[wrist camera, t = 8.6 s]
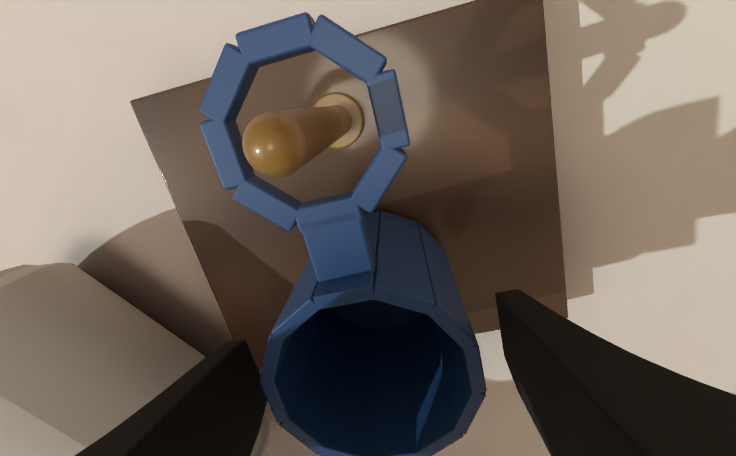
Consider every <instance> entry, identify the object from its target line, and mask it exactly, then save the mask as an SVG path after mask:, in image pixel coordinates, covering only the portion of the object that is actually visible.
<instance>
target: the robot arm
mask: <svg viewBox="0 0 736 456" xmlns="http://www.w3.org/2000/svg"><path fill="white" fill-rule="evenodd" d="M495 298H496V304H497V311H498V317H499V324H500V330H501V337H502V343H503V350H504V356H505V359H506V361H507V364H508V367H509V369H510V372H511V375H512V377H513V380H514V382H515V385H516V388H517V390H518V392H519V394H520V396H521V398H522V400H523V402H524V404H525V406H526V408H527V410H528V412H529V414H530V416H531V418H532V420H533V422H534V424H535V425H536V427H537V429H538V431H539V433H540V435H541V437H542V439H543V441H544V443H545V445H546V447H547V449H548V451H549V452H550V454H551V456H736V395H734V394H731V393H728V392H725V391H723V390H720V389H717V388H714V387H712V386H709V385H706V384H703V383H701V382H698V381H696V380H693V379H691V378H688V377H685V376H683V375H680V374H678V373H676V372H673V371H671V370H669V369H666V368H664V367H662V366H659V365H657V364H655V363H652V362H650V361H648V360H645V359H643V358H641V357H639V356H637V355H634V354H632V353H630V352H628V351H626V350H624V349H622V348H620V347H618V346H616V345H614V344H612V343H610V342H608V341H606V340H604V339H602V338H600V337H598V336H596V335H594V334H593V333H591V332H589V331H587V330H585V329H584V328H582V327H580V326H578V325H576V324H575V323H573V322H571V321H570V320H568V319H566V318H564V317H563V316H561V315H559V314H558V313H556V312H554V311H553V310H551V309H550V308H548V307H546V306H545V305H543V304H542V303H540V302H538V301H537V300H535V299H534V298H532V297H531V296H529V295H527V294H526V293H524V292H523V291H521V290H519V289H515V290H509V291H504V292H498V293H495ZM260 380H261V379H260V373H259V370H258V368H257V365H256V363H255V361H254V358H253V356H252V354H251V351H250V349H249V346H248V344H247V342H246V339H243V340H237V341H232V342H227V343H225V344H223V345H222V346H220V347H219V348H217V349H216V350H214V351H213V352H212V353H210V354H209V355H208V356H207V357H205V358H204V359H203V360H201V361H200V362H199V363H198V364H196V365H195V366H194V367H193V368H191V369H190V370H189V371H188V372H186V373H185V374H184V375H183V376H181V377H180V378H179V379H178V380H176V381H175V382H174V383H173V384H171V385H170V386H169V387H168V388H166V389H165V390H164V391H163V392H161V393H160V394H159V395H158V396H156V397H155V398H154V399H152V400H151V401H150V402H148V403H147V404H146V405H144V406H143V407H142V408H140V409H139V410H138V411H137V412H135V413H134V414H133V415H131V416H130V417H129V418H127V419H126V420H125V421H123V422H122V423H121V424H119V425H118V426H117V427H115V428H114V429H113V430H111V431H110V432H108V433H107V434H105V435H104V436H103V437H101V438H100V439H98V440H97V441H95V442H94V443H92V444H91V445H89V446H88V447H87V448H85V449H84V450H82V451H81V452H79V453H78V454H76V455H75V456H250V455H251V453H252V450H253V447H254V444H255V442H256V439H257V436H258V433H259V431H260V427H261V423H262V420H263V416H264V411H265V407H266V402H267V397H266V395H265V393H264V390H263V388H262V386H261V383H260Z"/></svg>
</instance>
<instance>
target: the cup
mask: <svg viewBox="0 0 736 456" xmlns="http://www.w3.org/2000/svg"><path fill="white" fill-rule="evenodd" d="M236 40H237V43H238V46H239V47H238V46H235V45H232V44H229V43H226V44H225V46H224V48H223V51H222V53H221V56H220V58H219V61H218V63H217V66H216V68H215V71H214V73H213V75H212V78H211V80H210V83H209V85H208V88H207V90H206V93H205V95H204V98H203V100H202V103H201V105H200V108H199V112H200V113H202V114H203V115H205V116H207V117H208V118H210V119H209V120H205V121H202V122H200V123H199V126H200V129H201V131H202V134H203V137H204V139H205V142H206V144H207V147H208V150H209V152H210V155H211V157H212V160H213V163H214V165H215V168H216V170H217V173H218V175H219V178H220V181H221V183H222V186H223V188H224V189H225V190H230V189H234V188H236V190H235V192H234V194H233V197H232V199H233V200H234V201H236V202H238V203H240V204H242V205H243V206H245V207H247V208H249V209H250V210H252V211H254V212H256V213H257V214H259V215H261V216H263V217H265V218H266V219H268V220H270V221H272V222H273V223H275V224H277V225H279V226H280V227H282V228H284V229H286V230H287V231H291V230H292V229H293V228H294V227H295V225H296V224H297V225H298V228H299V231H300V232H301V233H302V234H303V237H304V240H305V243H306V246H307V249H308V252H309V255H310V257H309V259H308V261H307V263H306V265H305V267H304V269H303V271H302V273H301V275H300V277H299V278H298V280H297V282H296V284H295V286H294V288H293V290H292V292H291V294H290V296H289V298H288V300H287V302H286V304H285V306H284V308H283V310H282V312H281V314H280V315H279V317H278V319H277V321H276V323H275V325H274V327H273V329H272V331H271V333H270V335H269V339H268V343H267V348H266V352H265V356H264V361H263V365H262V370H261V374H260V379H261V380H260V383H261V386H262V388H263V390H264V393H265V395H266V397H267V400H268V402H269V404H270V407H271V409H272V411H273V414H274V416H275V418H276V421H277V422H278V423H279V422H280V424H279V425H280V426H281V427H283V428H284V429H285V430H286V431H288V432H289V433H290V434H292V435H293V436H294V437H295V438H297V439H298V440H299V441H301V442H302V443H303V444H304V445H306V446H307V447H308V448H310V449H311V450H312V451H313V452H315V453H316V454H318V453H319V455H320V456H432V455H434V454H435V453H437V452H439V451H440V450H442V449H444V448H445V447H447V446H449V445H450V444H452V443H453V442H455V441H457V440H458V439H460V438H462V437H463V434H466V432H467V430H468V428H469V427H470V425H471V423H472V421H473V419H474V417H475V415H476V413H477V411H478V409H479V407H480V405H481V403H482V401H483V400H484V398H485V396H486V393H485V392H486V384H485V379H484V373H483V367H482V362H481V356H480V351H479V346H478V343H477V340H476V337H475V335H474V332H473V329H472V326H471V323H470V321H469V318H468V315H467V312H466V310H465V307H464V304H463V301H462V299H461V296H460V293H459V290H458V287H457V285H456V282H455V279H454V276H453V274H452V271H451V268H450V265H449V263H448V260H447V257H446V254H445V251H444V249H443V247H442V246H441V245H440V244H439V243H438V242H437V241H436V240H435V239H434V238H433V237H432V236H431V235H430V233H429V232H428V231H427V230H426V229H425V228H424V227H423V226H422V225H421V224H420V223H417V221H415V220H411V219H408V218H404V217H401V216H397V215H394V214H391V213H387V212H384V211H381V213H380V211H376V212H373V211H374V210H375V208H376V207H377V205H378V204H379V202H380V200H381V199H382V197H383V196H384V194H385V193H386V191H387V189H388V188H389V186H390V185H391V183H392V182H393V180H394V178H395V177H396V175H397V174H398V172H399V171H400V169H401V168H402V166H403V164H404V163H405V161H406V160H407V153H406V152H405V151H404V150H402V149H401V148H402V147H406V146H409V145H410V138H409V133H408V128H407V124H406V119H405V114H404V109H403V104H402V99H401V95H400V90H399V85H398V80H397V75H396V71H395V70H394V69H390V70H387V71H383V69H384V68H385V66H386V64H387V58H386V56H384V55H383V54H381V53H380V52H378V51H377V50H375V49H374V48H372V47H371V46H369V45H368V44H366V43H365V42H363V41H362V40H360V39H359V38H357V37H356V36H354V35H353V34H351V33H350V32H348V31H347V30H345V29H344V28H342V27H341V26H339V25H338V24H336V23H334V22H333V21H331V20H330V19H328V18H327V17H325V16H324V15H320V16H318V18H317V20H316V23H315V21H314V19H313V18H312V17H311V16H310V15H309V14H308V13H305V12H304V13H301V14H298V15H294V16H291V17H288V18H285V19H281V20H278V21H275V22H272V23H268V24H265V25H262V26H259V27H255V28H252V29H249V30H246V31H242V32H239V33H237V34H236ZM313 51H317V52H319V53H320V54H322V55H323V56H325V57H326V58H328V59H329V60H331V61H332V62H334V63H336V64H337V65H339V66H340V67H342V68H343V69H345V70H346V71H348V72H350V73H351V74H353V75H354V76H356V77H357V78H359V79H360V80H362V81H364V82H365V83H367V87H368V92H369V96H370V100H371V105H372V109H373V113H374V117H375V122H376V126H377V130H378V135H379V139H380V143H381V145H380V147H379V149H378V150H377V152H376V154H375V155H374V157H373V159H372V160H371V162H370V164H369V165H368V167H367V169H366V170H365V172H364V174H363V175H362V177H361V179H360V180H359V182H358V184H357V185H356V187H355V189H354V190H353V191H349V192H345V193H341V194H337V195H332V196H328V197H324V198H319V199H315V200H311V201H306V202H301V201H299V200H297V199H296V198H294V197H292V196H290V195H289V194H287V193H285V192H284V191H282V190H280V189H278V188H277V187H275V186H273V185H271V184H270V183H268V182H266V181H265V180H263V179H261V178H259V177H258V176H256V175H255V174H254V171H253V168H252V166H251V165H250V163H249V162H248V161H247V159H246V157H245V154H244V151H243V146H242V137H241V134H240V131H239V128H238V126H237V123H236V119H237V116H238V114H239V112H240V110H241V107H242V105H243V103H244V101H245V98H246V96H247V94H248V92H249V89H250V87H251V85H252V83H253V80H254V78H255V76H256V74H257V71H258V69H259V67H262V66H265V65H269V64H272V63H275V62H279V61H282V60H286V59H289V58H293V57H296V56H299V55H303V54H306V53H310V52H313ZM382 71H383V72H382ZM364 210H366V211H367V212H369V213H367V214H364Z"/></svg>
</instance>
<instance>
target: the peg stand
mask: <svg viewBox="0 0 736 456" xmlns="http://www.w3.org/2000/svg"><path fill="white" fill-rule="evenodd" d="M354 36H356V37H357V38H359V39H360V40H362V41H363V42H365V43H366V44H368V45H369V46H371V47H372V48H374V49H375V50H377V51H378V52H380V53H381V54H383V55H384V56H386V58H387V64H386V66H385V68H384V69H383V71H387V70H390V69H394V70H395V71H396V75H397V80H398V85H399V90H400V95H401V99H402V104H403V109H404V114H405V119H406V124H407V128H408V133H409V138H410V145H409V146H406V147H402V148H401V149H402V150H404V151H405V152H406V153H407V160H406V161H405V163H404V164H403V166H402V168H401V169H400V171H399V172H398V174H397V175H396V177H395V178H394V180H393V182H392V183H391V185H390V186H389V188H388V189H387V191H386V193H385V194H384V196H383V197H382V199H381V200H380V202H379V204H378V205H377V207H376V208H375V210H374V211H373V212H376V211H380V213H381V211H384V212H387V213H391V214H394V215H397V216H401V217H404V218H408V219H411V220H415V221H417V223H420V224H421V225H422V226H423V227H424V228H425V229H426V230H427V231H428V232H429V233H430V235H431V236H432V237H433V238H434V239H435V240H436V241H437V242H438V243H439V244H440V245H441V246H442V247H443V249H444V251H445V254H446V257H447V260H448V263H449V265H450V268H451V271H452V274H453V276H454V279H455V282H456V285H457V287H458V290H459V293H460V296H461V299H462V301H463V304H464V307H465V310H466V312H467V315H468V318H469V321H470V323H471V326H472V329H473V332H474V334H476V333H482V332H488V331H494V330H500V324H499V317H498V311H497V304H496V298H495V293H498V292H504V291H509V290H515V289H519V290H521V291H523V292H524V293H526V294H527V295H529V296H531V297H532V298H534V299H535V300H537V301H538V302H540V303H542V304H543V305H545V306H546V307H548V308H550V309H551V310H553V311H554V312H556V313H558V314H559V315H561V316H563V317H564V318H568V311H567V298H566V285H565V273H564V260H563V248H562V235H561V223H560V210H559V198H558V185H557V173H556V160H555V148H554V135H553V123H552V110H551V97H550V85H549V72H548V60H547V47H546V35H545V22H544V10H543V0H474V1H471V2H468V3H464V4H461V5H457V6H454V7H450V8H447V9H444V10H440V11H437V12H433V13H430V14H426V15H423V16H420V17H416V18H413V19H409V20H406V21H402V22H399V23H396V24H392V25H389V26H385V27H382V28H378V29H375V30H371V31H368V32H365V33H361V34H358V35H354ZM383 71H382V72H383ZM211 78H212V77H210V78H207V79H203V80H200V81H197V82H193V83H190V84H186V85H183V86H179V87H176V88H172V89H169V90H166V91H162V92H159V93H155V94H152V95H148V96H145V97H142V98H138V99H135V100H132V101H130V103H131V105H132V108H133V110H134V112H135V114H136V117H137V119H138V121H139V124H140V126H141V128H142V131H143V133H144V135H145V137H146V140H147V142H148V144H149V147H150V149H151V151H152V153H153V156H154V158H155V160H156V163H157V165H158V167H159V169H160V172H161V174H162V176H163V179H164V181H165V183H166V186H167V188H168V190H169V192H170V195H171V197H172V199H173V202H174V204H175V206H176V208H177V211H178V213H179V215H180V218H181V220H182V222H183V224H184V227H185V229H186V231H187V234H188V236H189V238H190V241H191V243H192V245H193V247H194V250H195V252H196V254H197V257H198V259H199V261H200V263H201V266H202V268H203V270H204V273H205V275H206V277H207V279H208V282H209V284H210V286H211V289H212V291H213V293H214V296H215V298H216V300H217V302H218V305H219V307H220V309H221V312H222V314H223V316H224V318H225V321H226V323H227V325H228V328H229V330H230V332H231V334H232V337H233V339H234V341H237V340H243V339H246V342H247V344H248V346H249V349H250V351H251V354H252V356H253V358H254V361H255V363H256V365H257V368H258V370H262V365H263V361H264V356H265V352H266V348H267V343H268V339H269V335H270V333H271V331H272V329H273V327H274V325H275V323H276V321H277V319H278V317H279V315H280V314H281V312H282V310H283V308H284V306H285V304H286V302H287V300H288V298H289V296H290V294H291V292H292V290H293V288H294V286H295V284H296V282H297V280H298V278H299V277H300V275H301V273H302V271H303V269H304V267H305V265H306V263H307V261H308V259H309V257H310V255H309V252H308V249H307V246H306V243H305V240H304V237H303V234H302V233H301V232H300V231H299V228H298V225H297V224H296V225H295V227H294V228H293V229H292V230H291V231H287V230H286V229H284V228H282V227H280V226H279V225H277V224H275V223H273V222H272V221H270V220H268V219H266V218H265V217H263V216H261V215H259V214H257V213H256V212H254V211H252V210H250V209H249V208H247V207H245V206H243V205H242V204H240V203H238V202H236V201H234V200H233V199H232V197H233V194H234V192H235V190H236V188H234V189H230V190H225V189H224V188H223V186H222V183H221V181H220V178H219V175H218V173H217V170H216V168H215V165H214V163H213V160H212V157H211V155H210V152H209V150H208V147H207V144H206V142H205V139H204V137H203V134H202V131H201V129H200V126H199V123H200V122H202V121H205V120H209V119H210V118H208V117H207V116H205V115H203V114H202V113H200V112H199V108H200V105H201V103H202V100H203V98H204V95H205V93H206V90H207V88H208V85H209V83H210V80H211ZM236 123H237V126H238V128H239V131H240V134H241V137H242V146H243V151H244V154H245V157H246V159H247V161H248V162H249V163H250V165H251V166H252V168H253V171H254V174H255V175H256V176H258V177H259V178H261V179H263V180H265V181H266V182H268V183H270V184H271V185H273V186H275V187H277V188H278V189H280V190H282V191H284V192H285V193H287V194H289V195H290V196H292V197H294V198H296V199H297V200H299V201H301V202H306V201H311V200H315V199H319V198H324V197H328V196H332V195H337V194H341V193H345V192H349V191H353V190H354V189H355V187H356V185H357V184H358V182H359V180H360V179H361V177H362V175H363V174H364V172H365V170H366V169H367V167H368V165H369V164H370V162H371V160H372V159H373V157H374V155H375V154H376V152H377V150H378V149H379V147H380V145H381V143H380V139H379V135H378V130H377V126H376V122H375V117H374V113H373V109H372V105H371V100H370V96H369V92H368V87H367V83H365V82H364V81H362V80H360V79H359V78H357V77H356V76H354V75H353V74H351V73H350V72H348V71H346V70H345V69H343V68H342V67H340V66H339V65H337V64H336V63H334V62H332V61H331V60H329V59H328V58H326V57H325V56H323V55H322V54H320V53H319V52H317V51H313V52H310V53H306V54H303V55H299V56H296V57H293V58H289V59H286V60H282V61H279V62H275V63H272V64H269V65H265V66H262V67H259V69H258V71H257V74H256V76H255V78H254V80H253V83H252V85H251V87H250V89H249V92H248V94H247V96H246V98H245V101H244V103H243V105H242V107H241V110H240V112H239V114H238V116H237V119H236ZM367 213H369V212H367V211H366V210H364V214H367Z"/></svg>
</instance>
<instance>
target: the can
mask: <svg viewBox="0 0 736 456" xmlns="http://www.w3.org/2000/svg"><path fill="white" fill-rule="evenodd" d="M205 357H206V356H204V355H203V354H201V353H200V352H198V351H197V350H196V349H194V348H193V347H191V346H190V345H188V344H187V343H186V342H184V341H183V340H181V339H180V338H178V337H177V336H176V335H174V334H173V333H171V332H170V331H168V330H167V329H166V328H164V327H163V326H161V325H160V324H158V323H157V322H156V321H154V320H153V319H151V318H150V317H148V316H147V315H145V314H144V313H143V312H141V311H140V310H138V309H137V308H135V307H134V306H133V305H131V304H130V303H128V302H127V301H125V300H124V299H123V298H121V297H120V296H118V295H117V294H115V293H114V292H113V291H111V290H110V289H108V288H107V287H105V286H104V285H103V284H101V283H100V282H98V281H97V280H95V279H94V278H93V277H91V276H90V275H88V274H87V273H85V272H84V271H83V270H81V269H80V268H78V267H77V266H75V265H74V264H68V263H55V264H47V265H39V266H37V265H21V266H17V267H14V268H10V269H6V270H3V271H1V272H0V456H75V455H76V454H78V453H79V452H81V451H82V450H84V449H85V448H87V447H88V446H89V445H91V444H92V443H94V442H95V441H97V440H98V439H100V438H101V437H103V436H104V435H105V434H107V433H108V432H110V431H111V430H113V429H114V428H115V427H117V426H118V425H119V424H121V423H122V422H123V421H125V420H126V419H127V418H129V417H130V416H131V415H133V414H134V413H135V412H137V411H138V410H139V409H140V408H142V407H143V406H144V405H146V404H147V403H148V402H150V401H151V400H152V399H154V398H155V397H156V396H158V395H159V394H160V393H161V392H163V391H164V390H165V389H166V388H168V387H169V386H170V385H171V384H173V383H174V382H175V381H176V380H178V379H179V378H180V377H181V376H183V375H184V374H185V373H186V372H188V371H189V370H190V369H191V368H193V367H194V366H195V365H196V364H198V363H199V362H200V361H201V360H203V359H204V358H205ZM270 431H271V429H270V423H269V419H268V418H265V417H263V420H262V423H261V427H260V431H259V433H258V436H257V439H256V442H255V444H254V447H253V450H252V453H251V455H250V456H264V455H265V452H266V449H267V447H268V442H269V436H270Z"/></svg>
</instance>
